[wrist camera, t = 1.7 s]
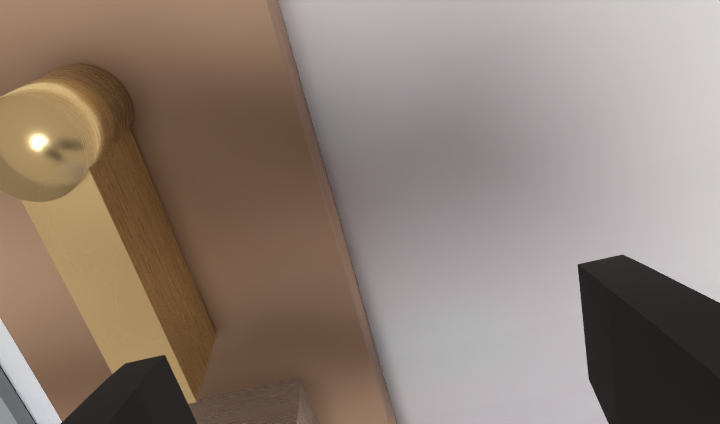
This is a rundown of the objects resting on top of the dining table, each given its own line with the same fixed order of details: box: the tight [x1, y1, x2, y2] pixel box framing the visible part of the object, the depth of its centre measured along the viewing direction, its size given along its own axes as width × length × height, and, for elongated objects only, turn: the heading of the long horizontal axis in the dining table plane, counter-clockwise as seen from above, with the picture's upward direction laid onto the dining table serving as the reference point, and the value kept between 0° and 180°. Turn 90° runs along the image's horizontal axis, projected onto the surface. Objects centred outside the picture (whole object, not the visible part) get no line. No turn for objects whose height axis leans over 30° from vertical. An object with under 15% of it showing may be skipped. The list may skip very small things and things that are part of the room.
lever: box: [0, 64, 217, 404], centre depth 13 cm, size 8×2×3 cm, turn 13°
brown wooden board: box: [0, 0, 397, 424], centre depth 18 cm, size 22×9×2 cm, turn 13°
